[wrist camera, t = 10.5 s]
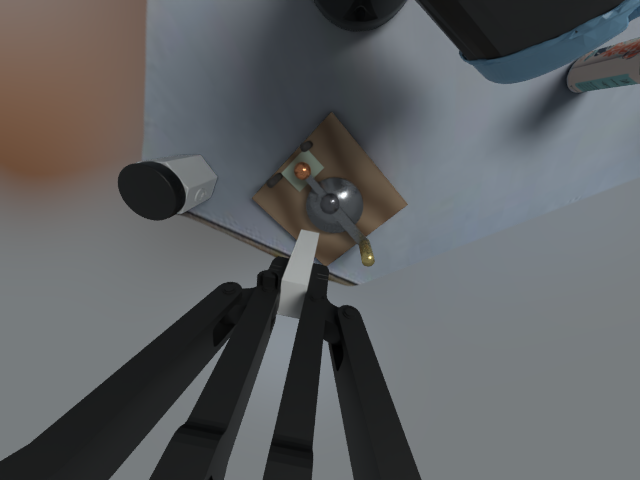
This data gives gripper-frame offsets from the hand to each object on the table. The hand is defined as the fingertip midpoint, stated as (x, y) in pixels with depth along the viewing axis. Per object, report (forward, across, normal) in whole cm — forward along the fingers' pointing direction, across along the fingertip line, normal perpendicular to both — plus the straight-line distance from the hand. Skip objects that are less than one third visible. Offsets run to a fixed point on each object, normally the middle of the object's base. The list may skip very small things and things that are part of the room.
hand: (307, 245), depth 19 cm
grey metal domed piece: (+23, +2, -4) cm, 23 cm away
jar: (+24, -24, -5) cm, 35 cm away
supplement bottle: (+26, +32, +21) cm, 47 cm away
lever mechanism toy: (+25, +1, -4) cm, 25 cm away
